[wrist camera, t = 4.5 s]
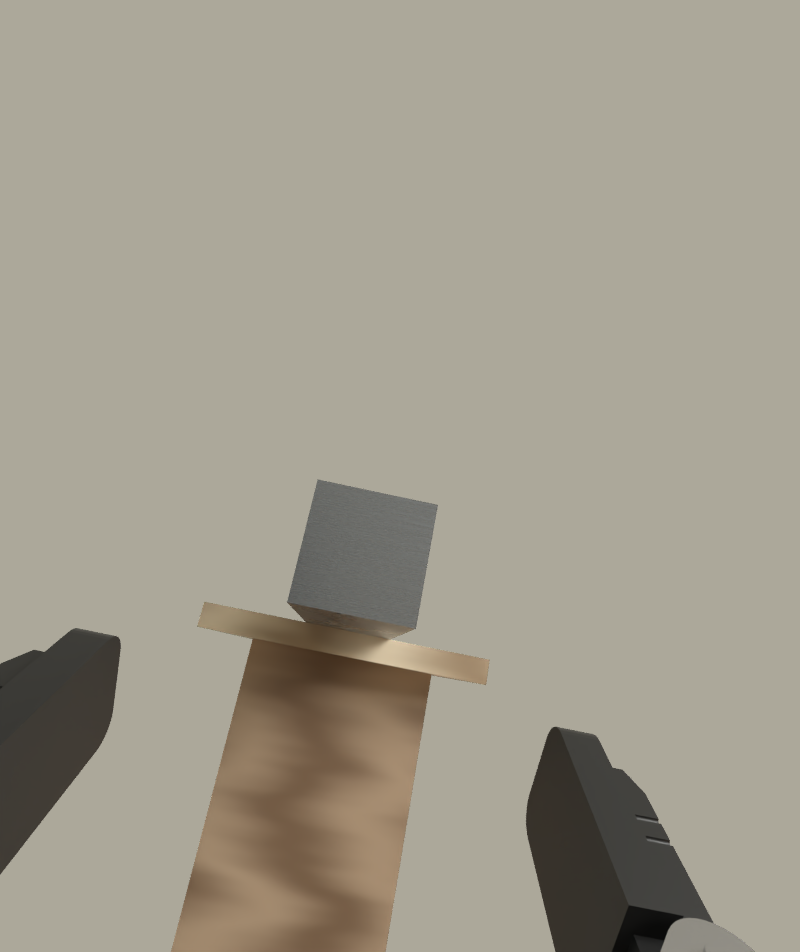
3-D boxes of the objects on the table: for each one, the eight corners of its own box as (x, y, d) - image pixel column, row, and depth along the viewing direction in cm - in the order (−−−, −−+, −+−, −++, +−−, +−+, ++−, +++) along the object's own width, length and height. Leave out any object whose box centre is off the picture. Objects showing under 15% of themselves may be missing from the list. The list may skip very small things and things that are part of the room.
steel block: (283, 601, 16) (314, 478, 17) (317, 635, 38) (330, 582, 40) (419, 629, 16) (441, 505, 17) (373, 647, 39) (383, 594, 40)
